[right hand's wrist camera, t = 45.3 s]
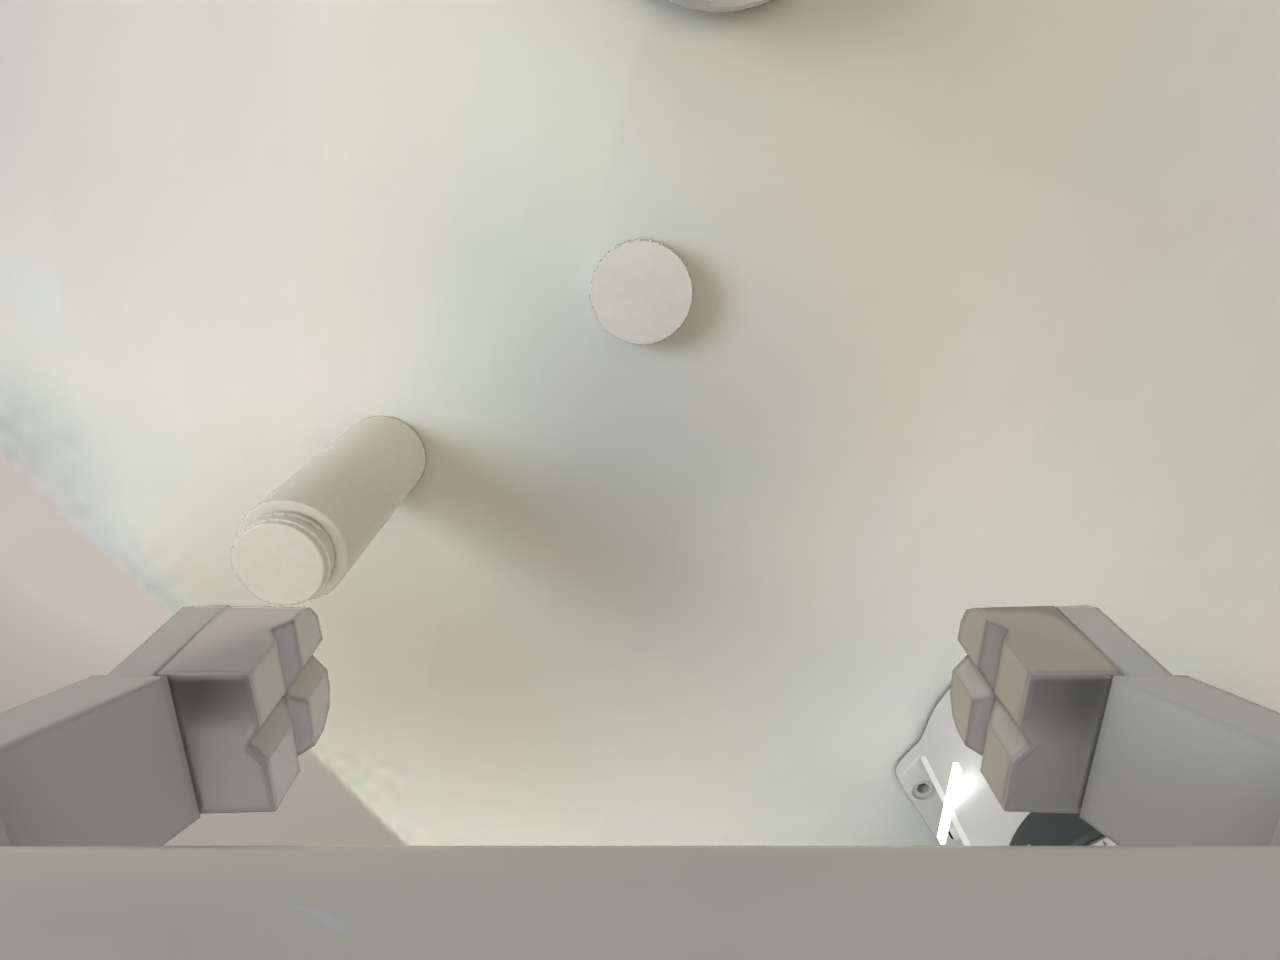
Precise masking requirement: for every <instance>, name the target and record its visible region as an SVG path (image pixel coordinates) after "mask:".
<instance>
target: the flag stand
mask: <svg viewBox="0 0 1280 960" xmlns="http://www.w3.org/2000/svg"><path fill="white" fill-rule="evenodd" d="M668 1H670V2H672V3H674V4H677V5H679V6H681V7H685V8H690V9H695V10H700V11H705V12H734V11H739V10H743V9H747V8H751V7H755V6H759V5H762V4H764V3H766V2H768V1H770V0H668Z"/></svg>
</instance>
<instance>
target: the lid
mask: <svg viewBox="0 0 1280 960" xmlns="http://www.w3.org/2000/svg"><path fill="white" fill-rule="evenodd" d="M606 254H607V255H606V256H605V257H604V258H603V259H602V260H600V261H599V263H600V264H599V266H598V268H597V270H595V271H594V277H593V281H592V282H591V285H592V286H591V294H590V297H591V299H592V304H593V305H592V308H594V311H595V314H596V316H597V319H598V320H599V321H600V323H601V324H602V325H603V327H604V328H605V329H606V330H607V331H608V332H609V333H611V335H613V336H615V337H616V338H618V339H620V340H622V341H625V342H628V343H632V344H651V343H656V342H658V341H661V340H663V339H666V338H667V337H669V336H670V335H672V334H673V333H674V332H676V330H677V329H678V328H679V327H680V326H681V325H682V324H683V323H684V320H685V319H686V317H687V315H688V314H689V310H690V307H691V303H692V302H693V301H692V291H693V288H692V283H691V280H692V278H691V276H689V273H688V271H687V269H688V267H687V266H686V265H684V263H683V262H682V260H681V259H682V258H681V256H680V255H679V256H678V255H677V254H676V253H675V252H674V251H673V249H672V248H668V247H667V246H665V245H663V243H662V242H661V243H658V242H656V241H652V239H650V240H643V239H641V240H640V238H638V240H632V241H629V240H627V242H625V243H623V244H621V245H618V244H617V245H616V247H615V248H614V249H612V250H611V251H610V252H609V251H608V252H607V253H606Z"/></svg>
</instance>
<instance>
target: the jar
mask: <svg viewBox="0 0 1280 960" xmlns="http://www.w3.org/2000/svg"><path fill="white" fill-rule="evenodd" d="M425 463H426V455H425V449H424V446H423V444H422V441H421V440H420V438H419V436H418V435H417V434H416V432H415V431H414V430H413V429H412V428H411V427H409V426H408V425H407V424H405V423H404V422H402V421H400V420H398V419H395V418H392V417H387V416H374V417H369V418H366V419H364V420H362V421H360V422H359V423H357V424H356V425H355V426H353V427H352V428H351V429H350V430H348V431H347V432H346V433H345V434H344V435H342V436H341V437H340V438H339V439H337V440H336V441H335V442H334V443H333V444H331V445H330V446H329V447H328V448H326V449H325V450H324V451H323V452H322V453H320V454H319V455H318V456H317V457H315V458H314V459H313V460H312V461H311V462H309V463H308V464H307V465H306V466H304V467H303V468H302V469H301V470H300V471H298V472H297V473H296V474H295V475H294V476H292V477H291V478H290V479H289V480H287V481H286V482H285V483H284V484H283V485H281V486H280V487H279V488H278V489H276V490H275V491H274V492H273V493H272V494H270V495H269V496H268V497H267V498H265V499H264V500H263V501H262V502H261V503H259V504H258V505H257V506H256V507H254V508H253V509H252V510H251V511H250V512H249V513H248V514H247V515H246V516H245V517H244V518H243V520H242V521H241V523H240V525H239V528H238V531H237V535H236V539H235V541H234V544H233V546H232V549H231V559H230V560H231V564H232V568H233V571H235V572H236V575H237V577H238V578H239V580H240V582H241V583H242V584H243V586H244V587H245V588H246V589H247V590H248V591H249V592H251V593H252V594H253V595H255V596H256V597H258V598H260V599H261V600H264V601H266V602H269V603H272V604H277V605H293V604H298V603H301V602H304V601H306V600H311V599H315V598H318V597H321V596H323V595H325V594H327V593H329V592H330V591H332V590H333V589H334V588H335V587H336V586H337V585H338V584H339V583H340V581H341V580H342V579H343V578H344V576H345V575H346V574H347V572H348V571H349V570H350V568H351V567H352V566H353V565H354V563H355V562H356V561H357V559H358V558H359V557H360V555H361V554H362V553H363V552H364V550H365V549H366V548H367V546H368V545H369V544H370V542H371V541H372V540H373V539H374V537H375V536H376V535H377V533H378V532H379V531H380V529H381V528H382V527H383V526H384V524H385V523H386V522H387V520H388V519H389V518H390V516H391V515H392V514H393V513H394V511H395V510H396V509H397V507H398V506H399V505H400V503H401V502H402V501H403V500H404V498H405V497H406V496H407V494H408V493H409V492H410V490H411V489H412V488H413V487H414V485H415V484H416V483H417V481H418V480H419V479H420V477H421V475H422V474H423V471H424V468H425Z"/></svg>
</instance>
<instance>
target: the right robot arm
mask: <svg viewBox="0 0 1280 960" xmlns="http://www.w3.org/2000/svg"><path fill="white" fill-rule="evenodd" d="M321 641H322V635H321V630H320V625H319V620H318V616H317V615H316V613H315V612H314V611H313V610H312V609H311V608H307V607H253V606H232V607H230V606H228V605H217V606H191V607H183V608H182V609H181V610H180V611H178V612H177V613H176V614H175V615H174V616H173V617H172V618H171V619H170V620H168V621H167V622H166V623H165V624H164V625H163V626H162V627H161V628H159V629H158V630H157V631H156V632H155V633H154V634H153V635H152V636H151V637H149V638H148V639H147V640H146V641H145V642H144V643H143V644H142V645H141V646H139V647H138V648H137V649H136V650H135V651H134V652H133V653H132V654H131V655H129V656H128V657H127V658H126V659H125V660H124V661H123V662H122V663H121V664H119V665H118V666H117V667H116V668H115V669H114V670H113V671H112V672H110V673H109V674H108V675H107V676H92V677H89V678H87V679H84V680H82V681H79V682H77V683H74V684H72V685H69V686H67V687H64V688H62V689H59V690H57V691H54V692H52V693H49V694H47V695H44V696H42V697H39V698H37V699H34V700H32V701H29V702H27V703H25V704H22V705H20V706H17V707H15V708H12V709H10V710H7V711H5V712H2V713H0V960H1280V713H1278V712H1275V711H1273V710H1270V709H1268V708H1265V707H1263V706H1260V705H1258V704H1255V703H1253V702H1250V701H1248V700H1245V699H1243V698H1240V697H1238V696H1236V695H1233V694H1231V693H1228V692H1226V691H1223V690H1221V689H1218V688H1216V687H1213V686H1211V685H1208V684H1206V683H1203V682H1201V681H1198V680H1196V679H1193V678H1191V677H1188V676H1173V675H1172V674H1171V673H1170V672H1168V671H1167V670H1166V669H1165V668H1164V667H1163V666H1162V665H1161V664H1160V663H1158V662H1157V661H1156V660H1155V659H1154V658H1153V657H1152V656H1151V655H1150V654H1148V653H1147V652H1146V651H1145V650H1144V649H1143V648H1142V647H1141V646H1140V645H1139V644H1137V643H1136V642H1135V641H1134V640H1133V639H1132V638H1131V637H1130V636H1129V635H1127V634H1126V633H1125V632H1124V631H1123V630H1122V629H1121V628H1120V627H1119V626H1117V625H1116V624H1115V623H1114V622H1113V621H1112V620H1111V619H1110V618H1109V617H1107V616H1106V615H1105V614H1104V613H1103V612H1102V611H1101V610H1100V609H1099V608H1096V607H1092V606H1089V605H1077V606H1055V607H1054V606H1032V607H991V608H972V609H966V611H965V613H964V615H963V618H962V620H961V623H960V629H959V635H958V641H959V642H960V644H961V645H962V647H963V648H964V650H965V651H966V653H967V656H966V657H965V658H964V659H963V660H962V661H961V662H960V663H959V664H958V665H957V666H956V667H955V668H954V670H953V673H952V681H951V688H950V689H949V690H948V691H947V692H946V693H945V695H944V696H943V697H942V698H941V700H940V701H939V702H938V704H937V705H936V707H935V709H934V710H933V712H932V714H931V716H930V719H929V721H928V723H927V726H926V728H925V731H924V733H923V735H922V737H921V739H920V740H919V742H918V743H917V744H916V745H915V746H914V747H913V748H912V749H911V750H910V751H909V752H908V753H907V754H906V755H905V756H904V757H903V758H902V759H901V761H900V762H899V763H898V765H897V767H896V777H897V779H898V780H899V782H900V783H901V785H902V787H903V788H904V790H905V791H906V793H907V794H908V796H909V797H910V799H911V800H912V802H913V803H914V805H915V806H916V808H917V810H918V811H919V813H920V814H921V816H922V817H923V819H924V820H925V822H926V823H927V825H928V826H929V828H930V829H931V831H932V832H933V834H934V835H935V837H936V838H937V840H938V841H939V843H940V844H941V846H162V845H164V844H165V843H166V842H168V841H169V840H170V839H172V838H173V837H174V836H176V835H177V834H178V833H180V832H181V831H183V830H184V829H185V828H187V827H188V826H189V825H191V824H192V823H193V822H195V821H196V820H197V819H199V818H200V814H202V813H238V812H272V811H276V810H277V809H278V807H279V805H280V804H281V802H282V800H283V798H284V797H285V795H286V793H287V792H288V790H289V788H290V787H291V785H292V783H293V782H294V780H295V778H296V776H297V775H298V773H299V772H300V769H299V763H298V757H297V756H299V755H300V754H302V753H304V752H305V751H307V750H308V749H310V748H312V747H313V746H315V744H316V742H317V741H318V739H319V737H320V735H321V733H322V731H323V730H324V726H325V722H326V718H327V714H328V710H329V697H330V686H329V679H328V672H327V670H326V668H325V667H324V666H323V665H322V664H321V663H320V662H319V661H318V660H317V659H316V658H315V657H314V656H313V653H314V651H315V650H316V648H317V647H318V645H319V644H320V642H321ZM920 784H924V785H922V786H919V785H920Z"/></svg>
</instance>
